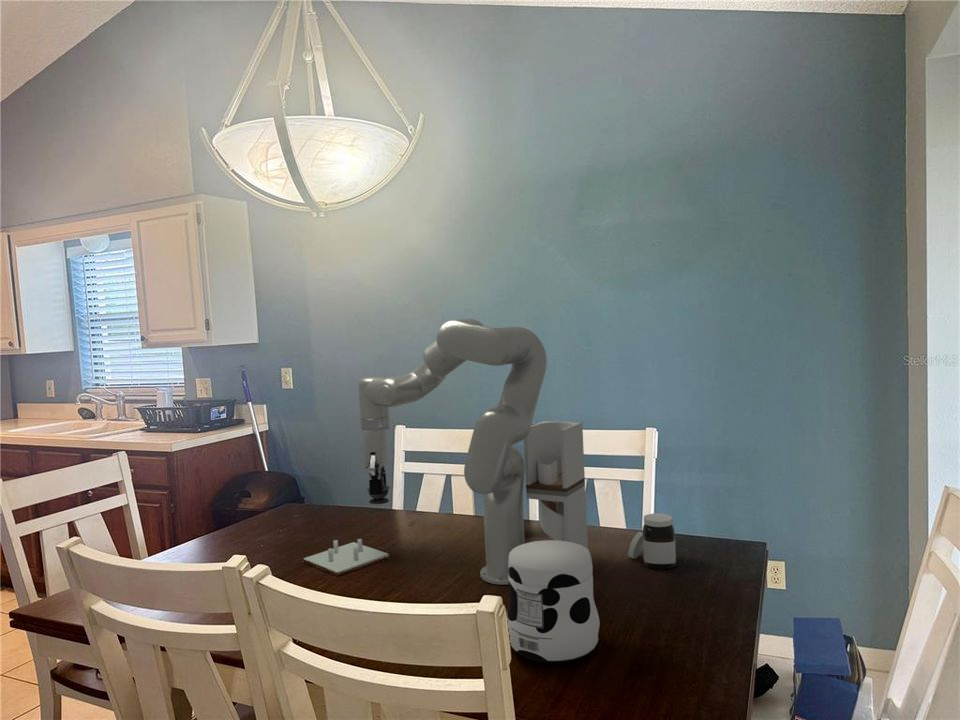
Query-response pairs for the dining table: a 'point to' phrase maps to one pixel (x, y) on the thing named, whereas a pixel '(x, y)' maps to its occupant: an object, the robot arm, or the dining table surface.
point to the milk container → (552, 601)
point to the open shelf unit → (558, 479)
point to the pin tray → (346, 556)
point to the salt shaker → (379, 498)
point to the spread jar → (655, 542)
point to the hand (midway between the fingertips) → (378, 490)
